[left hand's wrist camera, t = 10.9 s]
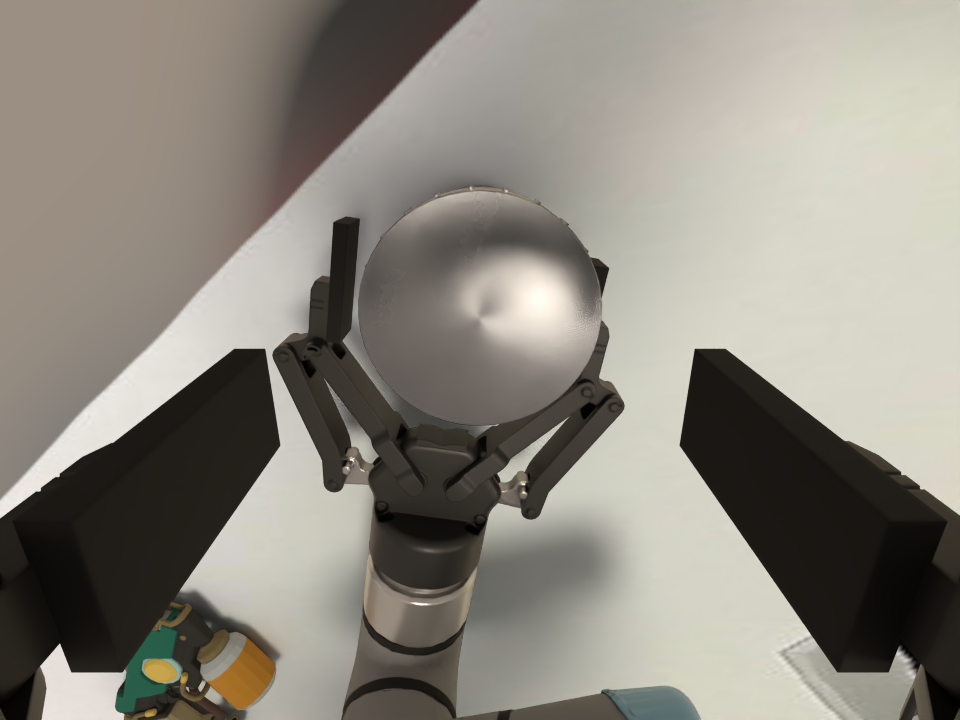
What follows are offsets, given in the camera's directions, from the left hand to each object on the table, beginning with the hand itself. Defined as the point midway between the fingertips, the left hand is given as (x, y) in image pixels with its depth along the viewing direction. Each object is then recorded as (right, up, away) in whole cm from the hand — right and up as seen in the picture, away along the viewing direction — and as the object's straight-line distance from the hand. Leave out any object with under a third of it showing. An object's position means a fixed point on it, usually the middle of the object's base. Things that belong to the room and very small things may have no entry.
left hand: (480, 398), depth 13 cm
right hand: (0, +7, +15) cm, 17 cm away
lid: (0, +3, +7) cm, 8 cm away
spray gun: (-26, -27, +35) cm, 51 cm away
